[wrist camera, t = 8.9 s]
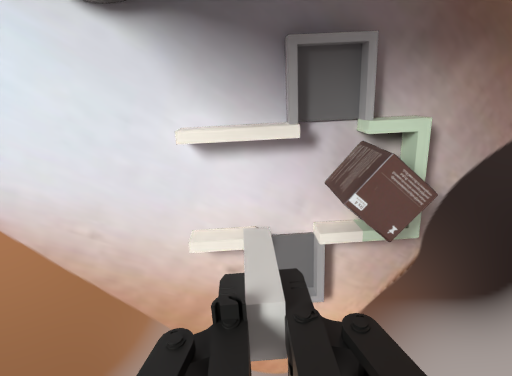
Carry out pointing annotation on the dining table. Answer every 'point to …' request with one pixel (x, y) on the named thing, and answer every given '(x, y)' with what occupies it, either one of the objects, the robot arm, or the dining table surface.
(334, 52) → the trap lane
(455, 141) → the dining table surface
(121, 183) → the dining table surface
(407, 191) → the box
